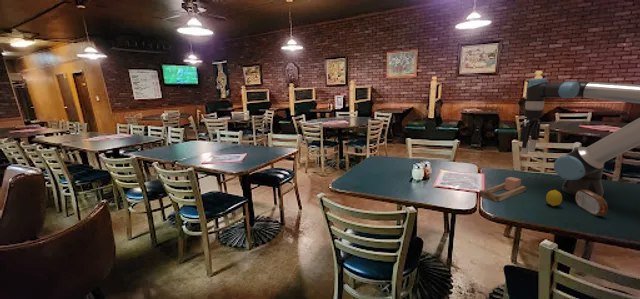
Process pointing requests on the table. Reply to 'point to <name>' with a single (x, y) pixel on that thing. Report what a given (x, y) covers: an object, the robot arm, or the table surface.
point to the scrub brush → (591, 202)
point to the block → (512, 183)
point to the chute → (489, 194)
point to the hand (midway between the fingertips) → (527, 152)
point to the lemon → (554, 197)
